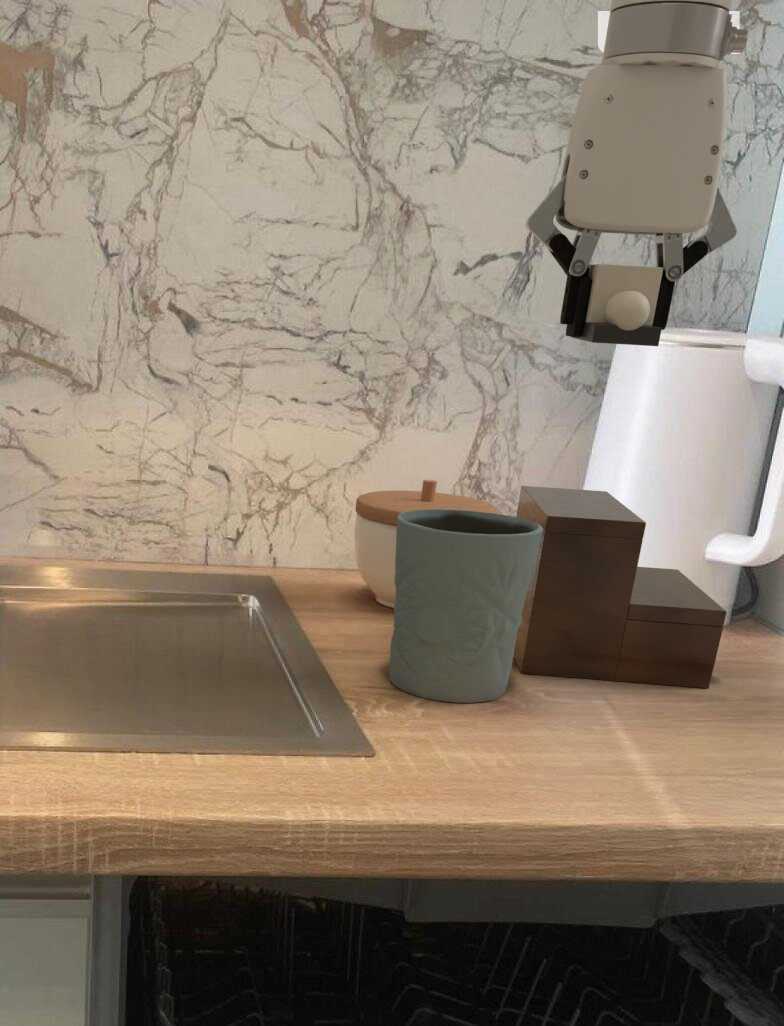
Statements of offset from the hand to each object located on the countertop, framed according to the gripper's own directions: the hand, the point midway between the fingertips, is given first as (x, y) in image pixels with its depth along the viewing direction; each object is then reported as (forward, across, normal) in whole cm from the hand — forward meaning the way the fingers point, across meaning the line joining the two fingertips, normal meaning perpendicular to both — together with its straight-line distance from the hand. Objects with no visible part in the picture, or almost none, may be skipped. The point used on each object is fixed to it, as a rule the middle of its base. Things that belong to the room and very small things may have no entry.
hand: (610, 335), depth 87 cm
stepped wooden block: (+24, -4, -1) cm, 24 cm away
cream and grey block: (0, 0, +1) cm, 1 cm away
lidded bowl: (+24, +10, -14) cm, 30 cm away
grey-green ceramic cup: (+24, +9, +10) cm, 28 cm away
